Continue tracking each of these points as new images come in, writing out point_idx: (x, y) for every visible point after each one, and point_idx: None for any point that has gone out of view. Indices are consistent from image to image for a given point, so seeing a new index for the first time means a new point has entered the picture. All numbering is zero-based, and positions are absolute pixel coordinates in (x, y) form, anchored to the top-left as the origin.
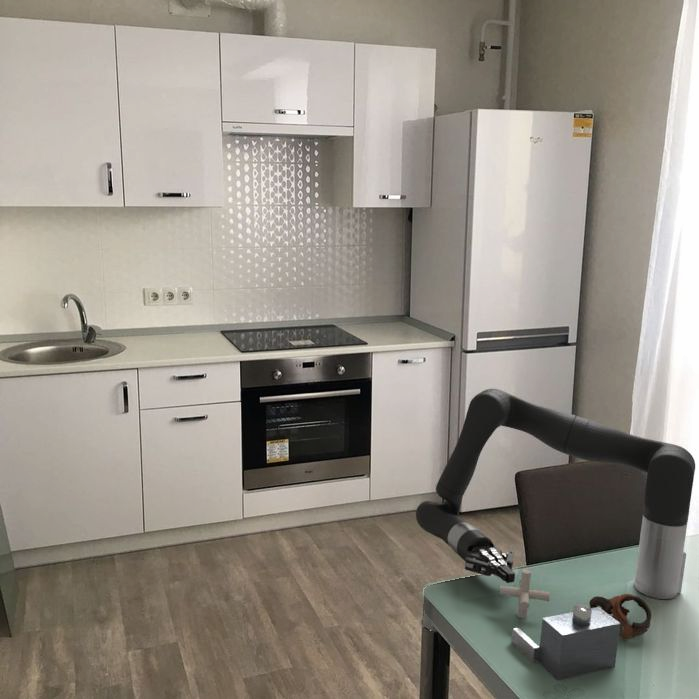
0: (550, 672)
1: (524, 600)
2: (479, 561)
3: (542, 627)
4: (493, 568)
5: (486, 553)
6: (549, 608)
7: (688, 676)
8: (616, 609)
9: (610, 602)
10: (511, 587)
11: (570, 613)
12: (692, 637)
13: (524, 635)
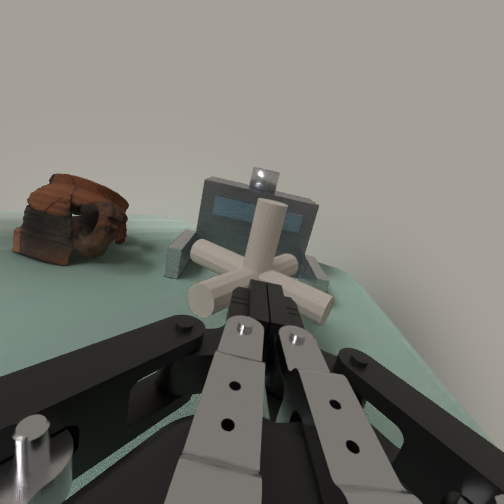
0: None
1: (289, 255)
2: (437, 424)
3: (313, 220)
4: (325, 352)
5: (353, 480)
6: (128, 328)
7: (138, 215)
8: (121, 199)
9: (101, 201)
10: (296, 280)
11: (265, 193)
12: (18, 211)
13: (315, 268)
